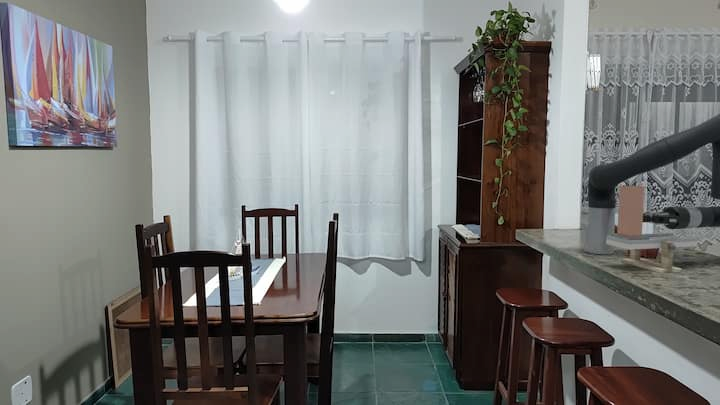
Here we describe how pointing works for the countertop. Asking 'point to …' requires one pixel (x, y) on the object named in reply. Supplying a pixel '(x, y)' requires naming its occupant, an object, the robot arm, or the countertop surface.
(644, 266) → the pivot stand
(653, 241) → the beam
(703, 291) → the countertop surface
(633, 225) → the block
